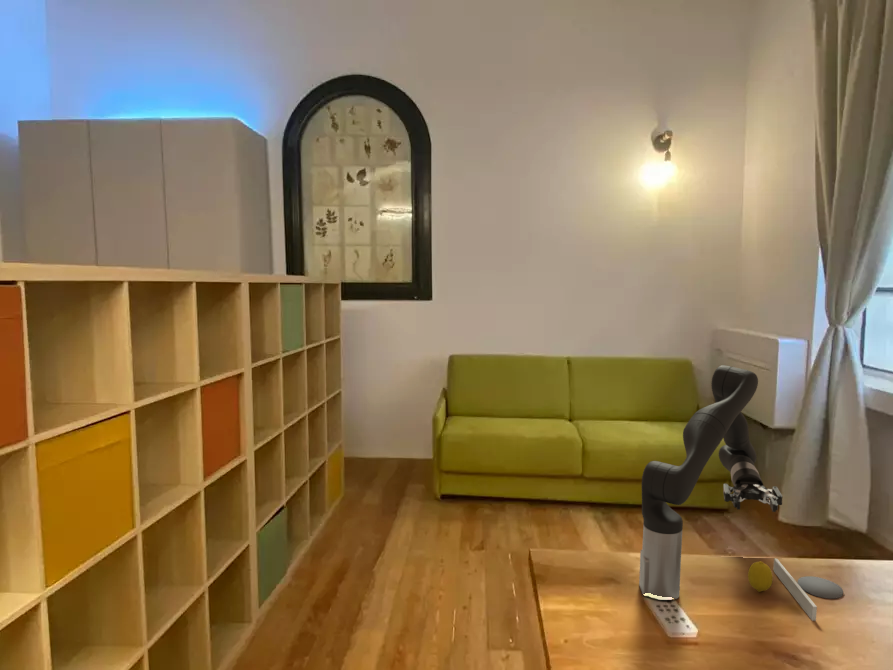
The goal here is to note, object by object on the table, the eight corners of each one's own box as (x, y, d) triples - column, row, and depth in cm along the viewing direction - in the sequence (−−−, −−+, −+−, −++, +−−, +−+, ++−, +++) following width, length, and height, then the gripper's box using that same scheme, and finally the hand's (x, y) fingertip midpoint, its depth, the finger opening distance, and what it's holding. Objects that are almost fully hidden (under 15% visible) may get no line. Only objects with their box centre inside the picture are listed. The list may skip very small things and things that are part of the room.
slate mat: (807, 597, 155) (807, 594, 155) (791, 577, 165) (791, 575, 165) (850, 600, 154) (850, 597, 154) (831, 579, 164) (831, 577, 164)
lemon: (774, 598, 155) (776, 567, 154) (750, 596, 156) (752, 565, 155) (767, 587, 160) (769, 557, 159) (744, 585, 161) (746, 555, 160)
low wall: (812, 620, 145) (813, 606, 145) (773, 570, 169) (774, 558, 168) (815, 620, 145) (816, 606, 144) (776, 571, 168) (777, 558, 168)
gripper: (719, 466, 181) (727, 492, 166) (774, 468, 177) (787, 496, 162) (719, 489, 182) (726, 518, 167) (773, 492, 178) (786, 522, 163)
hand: (756, 507), depth 164 cm, fingers open, 8 cm apart
